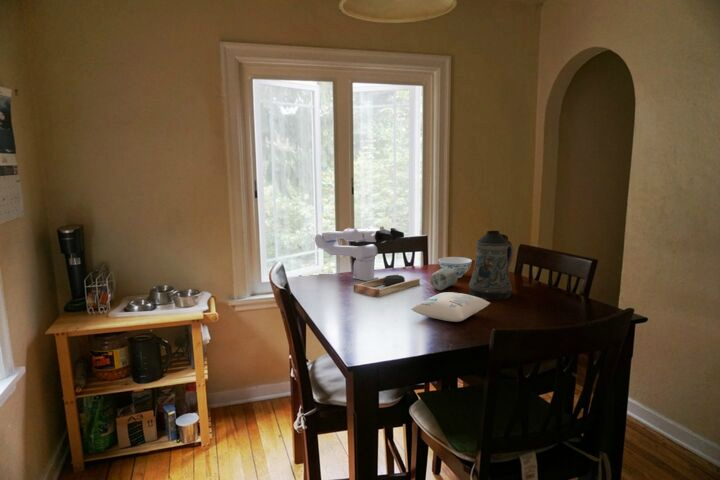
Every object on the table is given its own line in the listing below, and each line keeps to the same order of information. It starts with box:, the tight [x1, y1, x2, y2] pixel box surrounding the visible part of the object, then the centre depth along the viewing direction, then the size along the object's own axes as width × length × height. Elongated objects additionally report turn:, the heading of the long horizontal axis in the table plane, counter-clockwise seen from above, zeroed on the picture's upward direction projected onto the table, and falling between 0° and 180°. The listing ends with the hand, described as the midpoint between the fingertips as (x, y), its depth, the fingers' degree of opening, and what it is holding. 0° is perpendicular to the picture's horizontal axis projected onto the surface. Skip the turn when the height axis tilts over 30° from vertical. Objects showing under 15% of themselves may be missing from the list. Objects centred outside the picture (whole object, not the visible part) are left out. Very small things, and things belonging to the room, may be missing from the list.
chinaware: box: [438, 256, 473, 279], centre depth 209 cm, size 15×15×8 cm
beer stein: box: [468, 230, 514, 301], centre depth 179 cm, size 16×19×25 cm
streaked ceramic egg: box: [430, 268, 458, 291], centre depth 190 cm, size 14×10×10 cm
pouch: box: [410, 291, 491, 323], centre depth 152 cm, size 8×19×20 cm
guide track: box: [352, 273, 421, 298], centre depth 192 cm, size 13×27×3 cm, turn 134°
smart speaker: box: [383, 274, 406, 287], centre depth 196 cm, size 9×9×4 cm
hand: (397, 236), depth 192 cm, fingers open, 7 cm apart
